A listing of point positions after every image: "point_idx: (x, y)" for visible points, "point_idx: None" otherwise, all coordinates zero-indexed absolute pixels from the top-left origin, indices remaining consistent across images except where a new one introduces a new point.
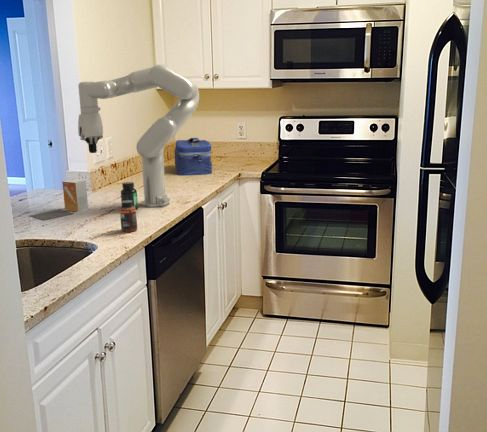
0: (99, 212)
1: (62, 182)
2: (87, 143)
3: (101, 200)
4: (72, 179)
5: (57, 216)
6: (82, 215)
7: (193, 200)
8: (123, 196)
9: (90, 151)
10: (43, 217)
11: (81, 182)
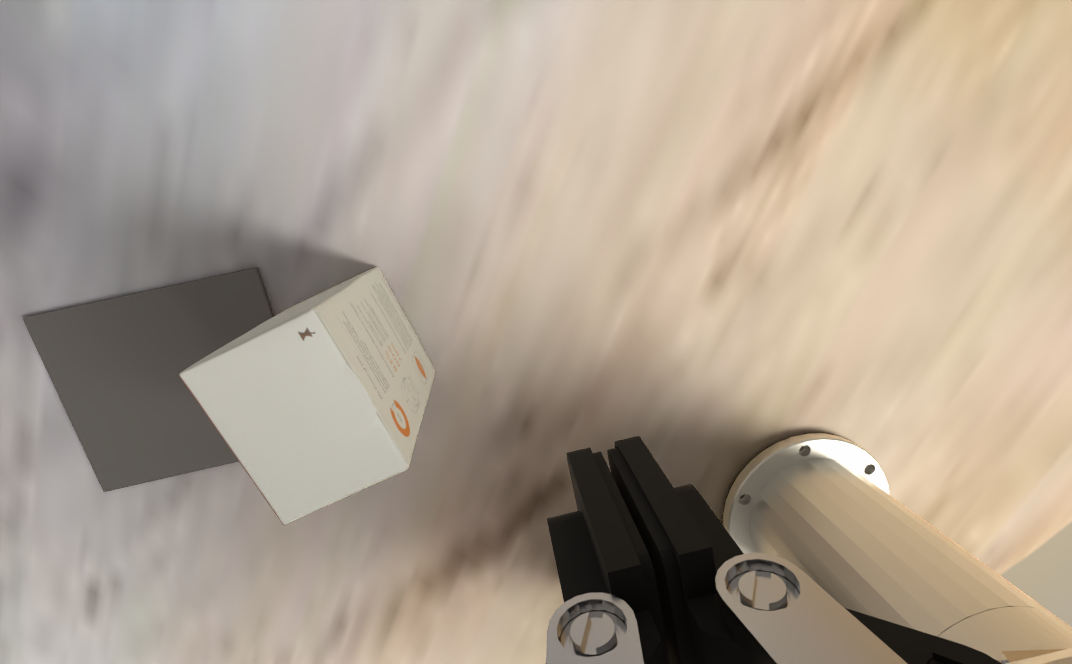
0: (461, 499)
1: (184, 374)
2: (556, 620)
3: (607, 171)
4: (303, 340)
5: (201, 464)
6: (351, 508)
7: (991, 550)
8: None
9: (577, 496)
10: (112, 434)
11: (358, 489)
